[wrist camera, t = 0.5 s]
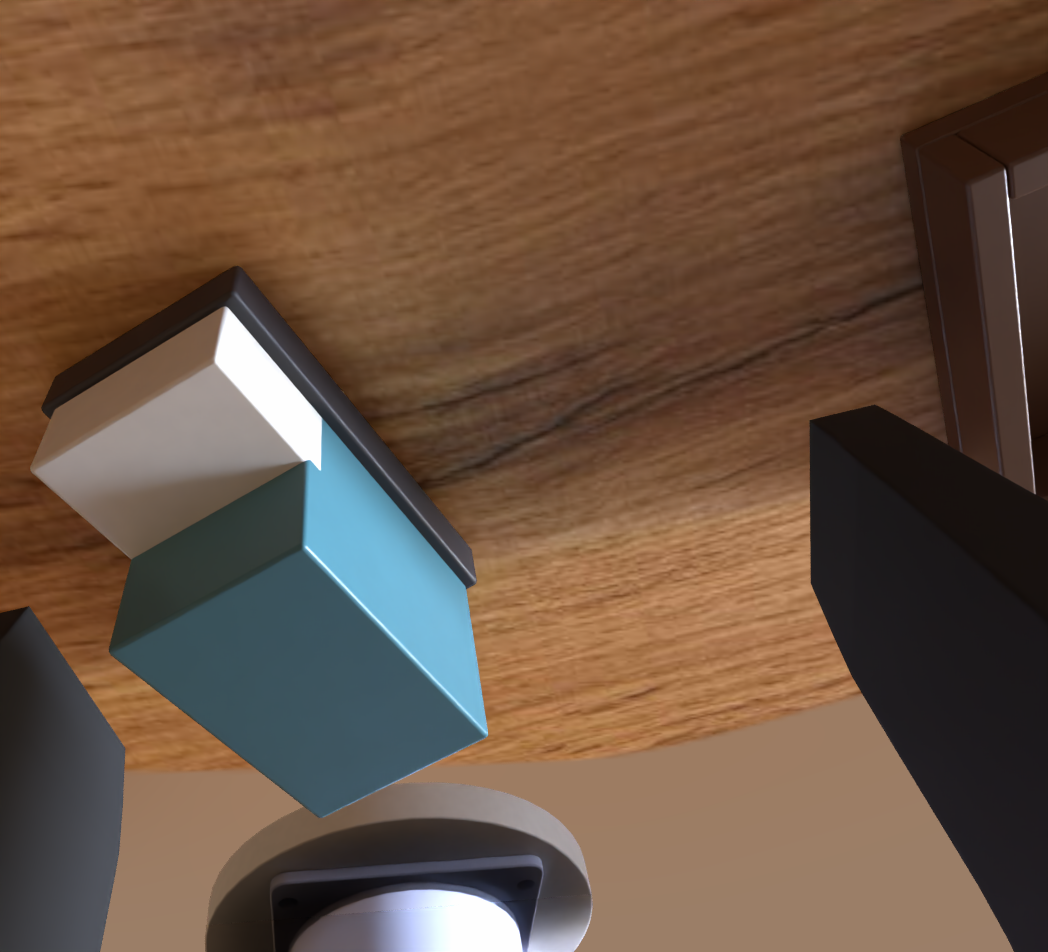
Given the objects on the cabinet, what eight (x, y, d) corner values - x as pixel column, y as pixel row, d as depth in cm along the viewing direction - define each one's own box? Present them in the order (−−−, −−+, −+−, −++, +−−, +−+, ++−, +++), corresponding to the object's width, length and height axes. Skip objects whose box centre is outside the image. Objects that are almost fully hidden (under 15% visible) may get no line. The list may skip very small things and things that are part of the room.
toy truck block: (473, 549, 19) (504, 736, 16) (317, 631, 20) (312, 828, 16) (238, 261, 15) (208, 423, 11) (52, 376, 16) (-33, 564, 12)
